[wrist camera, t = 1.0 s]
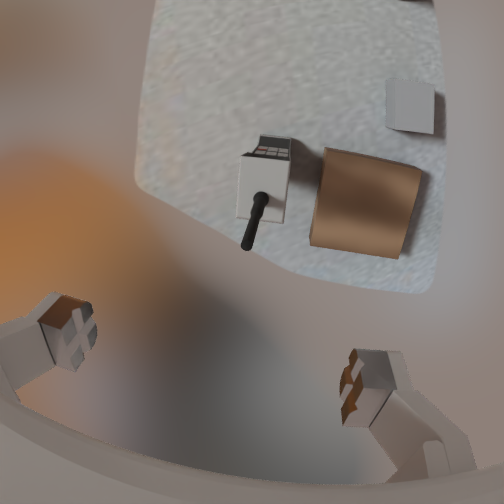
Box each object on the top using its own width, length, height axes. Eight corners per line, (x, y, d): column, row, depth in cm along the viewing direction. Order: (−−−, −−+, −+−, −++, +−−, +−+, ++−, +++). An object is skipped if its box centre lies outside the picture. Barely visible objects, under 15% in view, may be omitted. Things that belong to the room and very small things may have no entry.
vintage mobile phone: (291, 137, 37) (290, 192, 15) (287, 176, 39) (278, 283, 17) (260, 133, 37) (212, 184, 15) (257, 172, 40) (209, 274, 17)
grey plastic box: (385, 80, 32) (395, 78, 29) (421, 85, 32) (434, 84, 28) (385, 126, 35) (394, 129, 31) (420, 130, 34) (433, 134, 31)
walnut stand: (324, 147, 37) (327, 150, 34) (413, 166, 36) (422, 171, 34) (309, 236, 43) (310, 245, 40) (392, 249, 42) (397, 259, 39)
